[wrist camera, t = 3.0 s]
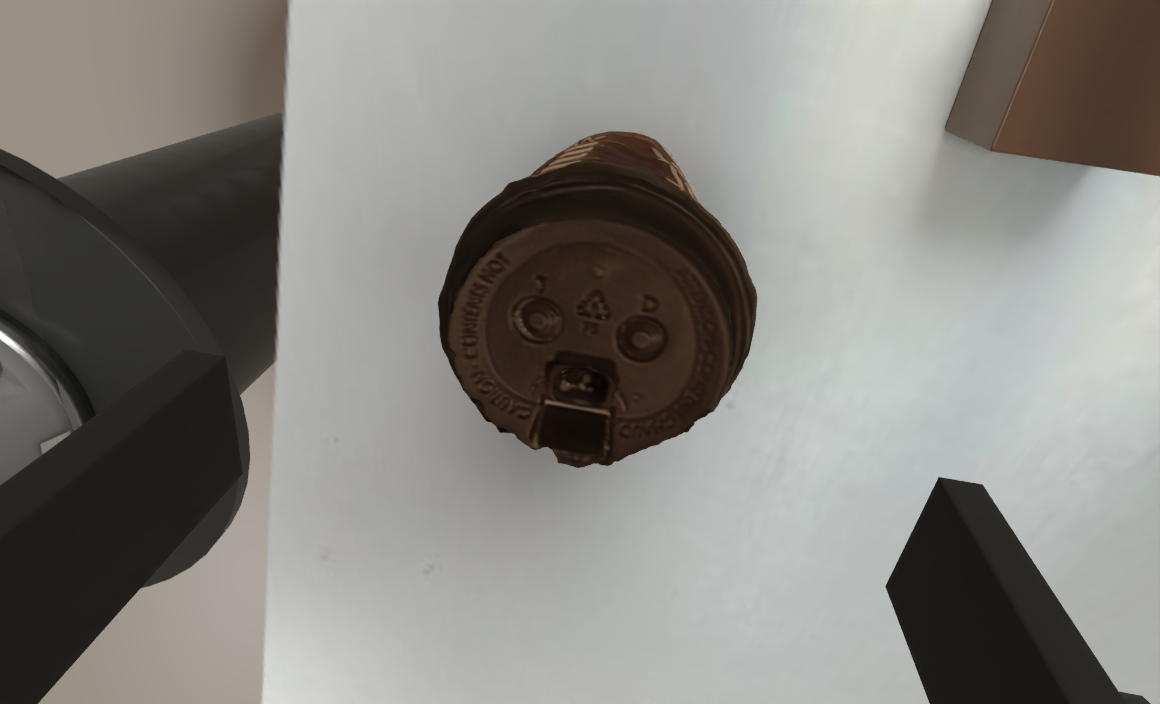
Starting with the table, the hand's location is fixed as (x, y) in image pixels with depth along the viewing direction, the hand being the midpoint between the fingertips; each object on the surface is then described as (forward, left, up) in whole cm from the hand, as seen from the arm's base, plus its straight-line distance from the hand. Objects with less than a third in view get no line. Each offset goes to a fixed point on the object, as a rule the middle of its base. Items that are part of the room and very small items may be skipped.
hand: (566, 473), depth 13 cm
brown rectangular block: (+15, +8, -18) cm, 24 cm away
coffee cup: (0, 0, -18) cm, 18 cm away
